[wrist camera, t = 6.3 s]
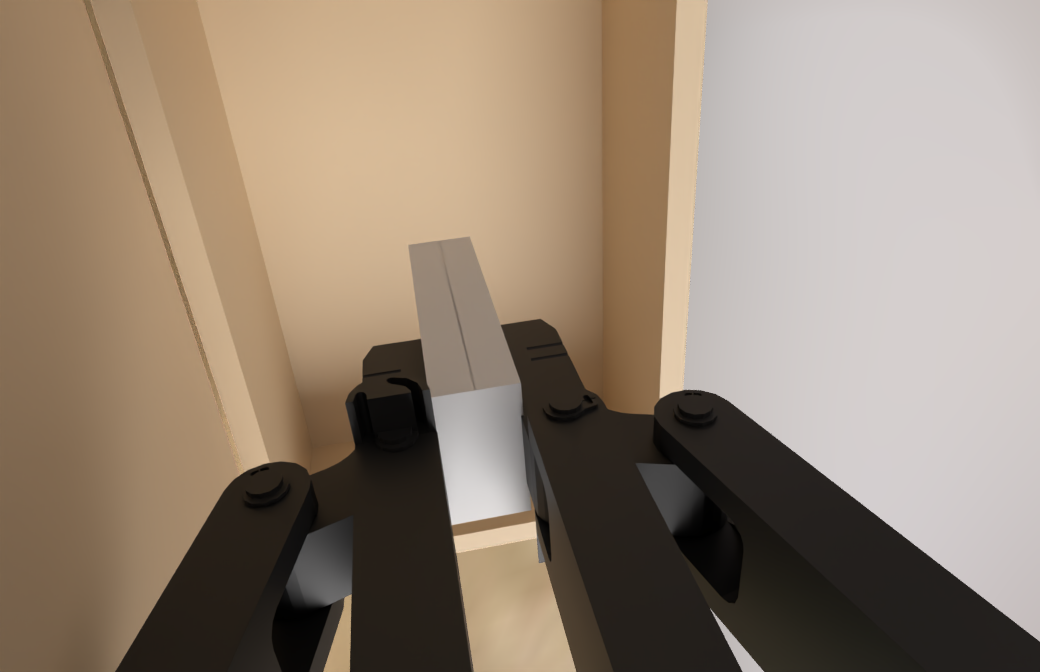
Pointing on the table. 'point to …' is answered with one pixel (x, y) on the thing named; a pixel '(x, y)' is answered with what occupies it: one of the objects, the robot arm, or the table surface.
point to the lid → (88, 364)
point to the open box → (415, 188)
